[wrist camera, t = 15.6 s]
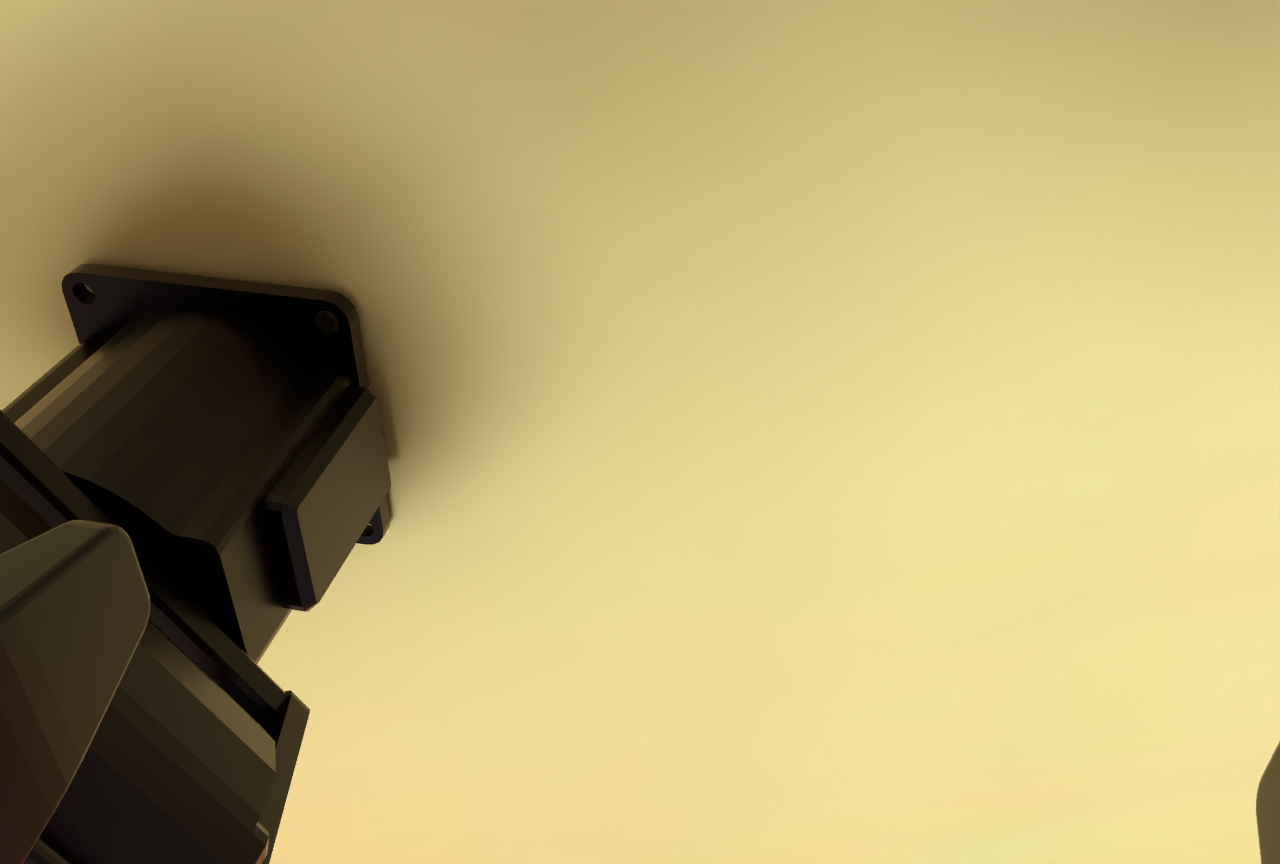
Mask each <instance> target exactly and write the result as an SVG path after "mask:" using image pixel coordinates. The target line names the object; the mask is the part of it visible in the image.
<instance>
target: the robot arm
mask: <svg viewBox="0 0 1280 864" xmlns="http://www.w3.org/2000/svg"><path fill="white" fill-rule="evenodd" d="M84 284H85V285H87V286H88V287H90V288H91V289H92V291H93V292H94V294H92V293H91V292H90V291H89V290H88V289H87V288H86V286H85V285H84ZM62 290H63V294H64V297H65V300H66V303H67V306H68V309H69V312H70V315H71V318H72V322H73V325H74V328H75V331H76V334H77V337H78V340H79V343H80V345H78V346H77V347H76V348H75V349H74V350H73V351H71V352H70V353H69V354H68V355H67V356H66V357H64V358H63V359H62V360H61V361H60V362H59V363H57V364H56V365H55V366H54V367H53V368H51V369H50V370H49V371H48V372H47V373H46V374H44V375H43V376H42V377H41V378H40V379H39V380H37V381H36V382H35V383H34V384H33V385H31V386H30V387H29V388H28V389H27V390H26V391H24V392H23V393H22V394H21V395H20V396H19V397H17V398H16V399H15V400H14V401H13V402H12V403H10V404H9V405H8V406H7V407H6V408H4V409H3V410H2V411H1V410H0V864H269V862H270V858H271V854H272V850H273V847H274V843H275V839H276V836H277V832H278V828H279V824H280V821H281V817H282V813H283V810H284V806H285V802H286V798H287V795H288V791H289V787H290V783H291V780H292V776H293V772H294V769H295V765H296V761H297V757H298V754H299V750H300V746H301V743H302V739H303V735H304V731H305V728H306V724H307V720H308V716H309V713H310V709H309V708H308V707H307V706H306V705H305V704H304V703H303V702H302V701H301V700H300V699H299V698H298V697H297V696H296V695H295V694H294V693H293V692H292V691H284V690H283V689H282V688H281V687H279V686H278V685H277V684H276V683H275V682H274V681H273V680H272V679H271V678H270V677H269V676H268V675H267V674H266V673H265V672H264V671H263V670H262V669H261V668H260V667H259V666H258V665H257V663H258V662H259V660H260V659H261V657H262V656H263V654H264V652H265V651H266V649H267V648H268V646H269V645H270V643H271V642H272V640H273V638H274V637H275V635H276V634H277V632H278V631H279V629H280V628H281V626H282V625H283V623H284V621H285V620H286V618H287V617H288V615H289V614H290V612H291V611H292V609H293V610H299V611H309V610H310V609H311V608H313V607H314V606H315V605H316V604H318V603H319V602H320V600H321V598H322V597H323V595H324V594H325V592H326V590H327V589H328V587H329V586H330V584H331V582H332V581H333V579H334V578H335V576H336V574H337V573H338V571H339V570H340V568H341V566H342V565H343V563H344V562H345V560H346V558H347V557H348V555H349V553H350V552H351V550H352V549H353V547H354V545H355V544H356V543H360V544H375V543H378V542H380V540H381V539H382V538H383V536H384V535H385V533H386V531H387V529H388V528H389V526H390V517H389V511H388V504H387V498H386V494H387V493H388V491H389V489H390V487H391V481H390V474H389V468H388V461H387V455H386V448H385V442H384V435H383V429H382V422H381V416H380V409H379V403H378V398H377V397H376V395H375V394H374V392H373V391H372V389H371V388H369V384H368V378H367V371H366V365H365V359H364V352H363V346H362V340H361V333H360V327H359V320H358V315H357V312H356V309H355V306H354V305H353V304H352V303H351V301H350V300H349V299H348V298H346V297H345V296H343V295H342V294H340V293H337V292H333V291H328V290H319V289H310V288H301V287H292V286H283V285H274V284H265V283H256V282H247V281H238V280H229V279H220V278H211V277H202V276H193V275H184V274H175V273H166V272H157V271H148V270H139V269H130V268H121V267H112V266H103V265H94V264H82V265H80V266H78V267H77V268H75V269H74V270H73V271H71V272H70V273H69V274H67V275H66V276H65V277H64V278H63V281H62ZM323 311H327V312H330V313H332V314H333V315H334V316H335V317H336V318H337V321H338V323H335V322H332V321H330V320H329V319H328V318H327V317H326V316H325V314H324V312H323ZM368 523H370V524H371V525H372V526H371V525H368ZM1256 816H1257V826H1258V835H1259V845H1260V855H1261V864H1280V742H1279V744H1278V746H1277V748H1276V750H1275V752H1274V754H1273V756H1272V758H1271V760H1270V762H1269V764H1268V765H1267V767H1266V769H1265V771H1264V773H1263V775H1262V778H1261V780H1260V783H1259V787H1258V791H1257V798H1256Z"/></svg>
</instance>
